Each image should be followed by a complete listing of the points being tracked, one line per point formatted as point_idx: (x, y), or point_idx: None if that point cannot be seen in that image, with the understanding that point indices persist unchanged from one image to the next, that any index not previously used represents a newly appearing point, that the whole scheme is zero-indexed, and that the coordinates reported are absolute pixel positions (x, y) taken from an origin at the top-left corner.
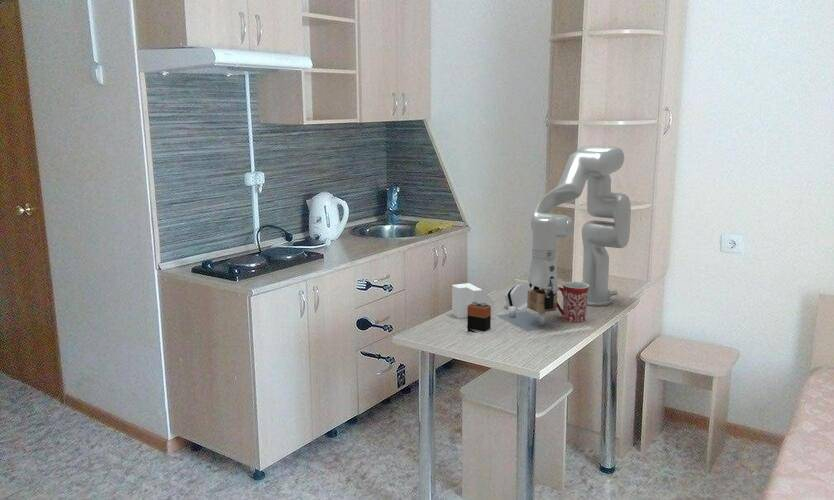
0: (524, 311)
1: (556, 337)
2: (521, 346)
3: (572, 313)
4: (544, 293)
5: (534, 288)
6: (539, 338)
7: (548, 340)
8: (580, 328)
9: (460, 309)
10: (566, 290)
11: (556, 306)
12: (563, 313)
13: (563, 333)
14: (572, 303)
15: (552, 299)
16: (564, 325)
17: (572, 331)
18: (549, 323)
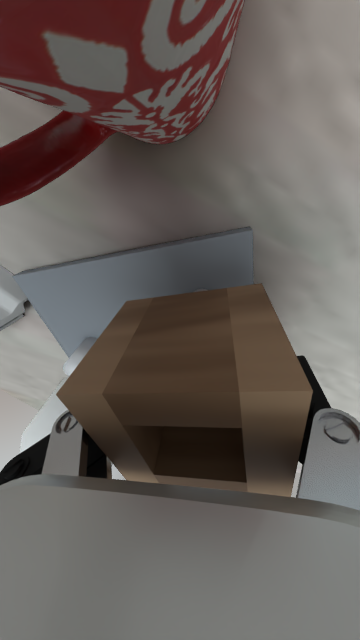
0: (21, 286)
1: (339, 292)
2: (336, 406)
3: (216, 77)
4: (252, 468)
5: (107, 474)
6: (307, 346)
7: (347, 332)
8: (295, 69)
9: None
10: (66, 29)
11: (267, 298)
12: (124, 133)
13: (313, 238)
14: (221, 26)
15: (327, 404)
16: (200, 166)
17: (315, 171)
18: (199, 263)
